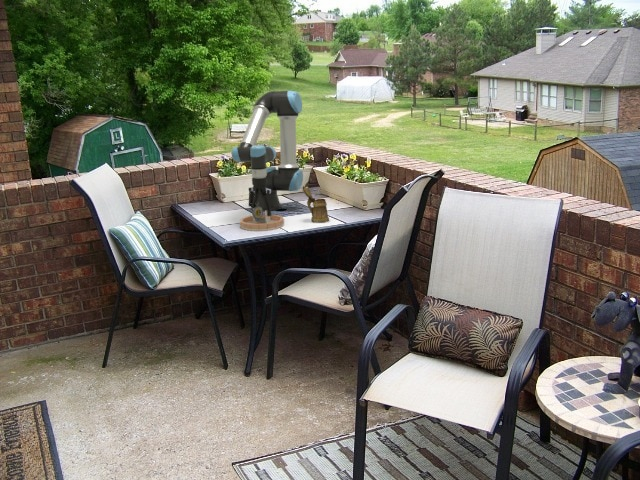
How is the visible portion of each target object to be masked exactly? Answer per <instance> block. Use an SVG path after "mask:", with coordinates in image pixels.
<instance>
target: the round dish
mask: <svg viewBox="0 0 640 480" xmlns="http://www.w3.org/2000/svg"><path fill="white" fill-rule="evenodd" d="M262 218H266V217H265V213H263V215H262V217H261V218H260V219H262ZM284 220H285V219H284V217H283V216H282V215H278V214H271V216H270V222H268V223H258V222H256V221H253V215H248V216H244V217H242V218H240V219H239V225H240V227H239V228H240V229H242V230H245V231H253V232H257V231H258V232H259V231H260V232H262V231H265V232H266V231H273V230H276V229H280V228H282V227H283V226H284V223H285V221H284Z"/></svg>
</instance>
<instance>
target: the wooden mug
mask: <svg viewBox="0 0 640 480" xmlns="http://www.w3.org/2000/svg"><path fill="white" fill-rule="evenodd" d="M302 192H303V193H304V195H305V197H307V198H308V199H307V202H306V204H307V208H308V209H309V211H310V212H311V222H312V223H316V224H319V223H327V222H329V221H330V217H329V214H328V208H327V202H326V201H327V200H326V199H325V198H316V197H313V195H312V193H311V191H310V190H309V189H308V188H307V187H306V186H304V185H302ZM311 204H312V205H311Z"/></svg>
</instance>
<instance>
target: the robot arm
mask: <svg viewBox="0 0 640 480" xmlns="http://www.w3.org/2000/svg"><path fill="white" fill-rule="evenodd" d="M302 110H303V101H302V97H301V95H300V94H299V92H298V91H296V90H294V91H293V90H280V91H279V90H277V91H275V90H271V91H268V92H266V93H264V94H262V95H261V96H260V97H259V98H258V99H257V100H256V101H255V103H254V105H253V107H252V116H251V117H250V119H249V122H248V124H247V127H246V130H245V131H244V134H243V136H242V139H241V142H240V144H239V146H234V147H233V148H232V150H231V158H232V160H233V161H234V162H239V163H244V162H245V163H246V162H248V163H250V164H251V165H250V166H251V170H250V171H251V184H252V186H251V187H248V207H250V208H251V212H252V211H253V209H254V208H255V207H256V206H257V205H256V204H257V203H258V202H259V203H258V206H260V207H262V209H263V212H265V213H264V215H265V217H266V223H268V222H270V216H271V215H272V213H271V212H272V211H277V210H280V209H281V208H282V207H281V206H282V204H281V202H280V200H279V196H278V191H281V192H285V191H286V192H298V191H299V190H300V189H301V188H302V186H303V181H304V172H303V171H302V170H301V169H300V166H299V165H298V164H297V131H296V130H297V127H296V125H297V122H296V120H297V118H298V117H299V114H300V113H302ZM271 114H276V117H277V118H278V119H279V136H280V138H279V139H280V141H279V143H280V144H279V145H280V149H279V150H280V164H279V165H278V166H277V167H278V168H277V167H276V166H267V164H268V163H270V162H272V161H274V160H275V159H276V156H277V151H276V149H275V148H274V147H272V146H265V145H256V144H257V142H258V139H259V137H260V134H261V132H262V130H263V127H264V125H265V122H266V120H267V119H268V118H269V117H270V116H271ZM255 202H256V204H255ZM257 214H258V213H257ZM256 216H258V215H256ZM256 220H257V219H255V218H254V217H253V221H256Z"/></svg>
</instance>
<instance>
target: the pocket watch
mask: <svg viewBox="0 0 640 480" xmlns="http://www.w3.org/2000/svg"><path fill="white" fill-rule="evenodd" d="M258 203H259V202H258ZM258 203H257V204H256V202H255V204H256V205H257V206H256V207H255V208H254V209H253V211H252V210H251V214H252V215H253V217H254V218H255V219H257V220H256V222H258V223H266V218H262V219H260V218H261V217H262V215H263V214H264V211H263V209H262V207H260V206H258ZM257 213H258V214H257ZM252 215H251V216H252ZM256 215H258V216H256Z"/></svg>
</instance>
